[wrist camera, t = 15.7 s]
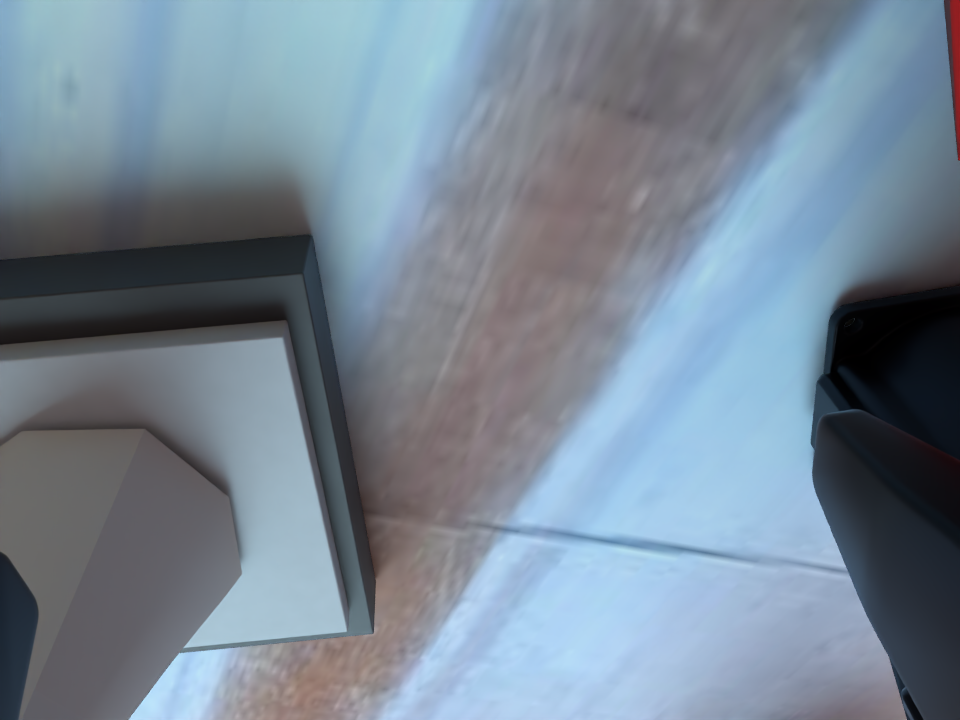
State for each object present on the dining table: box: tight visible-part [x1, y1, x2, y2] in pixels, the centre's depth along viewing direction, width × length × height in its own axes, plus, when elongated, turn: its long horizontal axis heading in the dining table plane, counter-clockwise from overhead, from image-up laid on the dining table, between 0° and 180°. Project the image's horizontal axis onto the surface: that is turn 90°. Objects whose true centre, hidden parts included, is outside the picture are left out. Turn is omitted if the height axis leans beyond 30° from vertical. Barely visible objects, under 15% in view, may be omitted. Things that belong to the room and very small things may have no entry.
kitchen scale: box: [0, 235, 376, 653], centre depth 23 cm, size 13×13×3 cm
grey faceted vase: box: [0, 429, 242, 720], centre depth 18 cm, size 7×7×10 cm
